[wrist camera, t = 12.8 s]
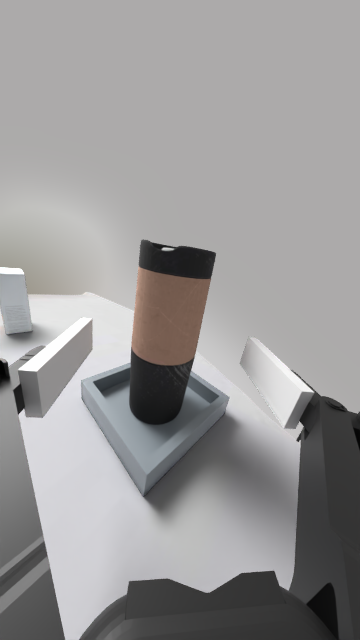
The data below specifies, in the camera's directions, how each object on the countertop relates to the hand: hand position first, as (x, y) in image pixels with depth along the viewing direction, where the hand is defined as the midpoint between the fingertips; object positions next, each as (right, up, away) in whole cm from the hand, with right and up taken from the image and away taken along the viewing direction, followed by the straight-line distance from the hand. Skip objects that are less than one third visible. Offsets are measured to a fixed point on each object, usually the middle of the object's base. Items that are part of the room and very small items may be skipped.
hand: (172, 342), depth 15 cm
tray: (-3, -10, +10) cm, 14 cm away
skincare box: (-34, 0, +23) cm, 41 cm away
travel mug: (-3, -9, +10) cm, 14 cm away
